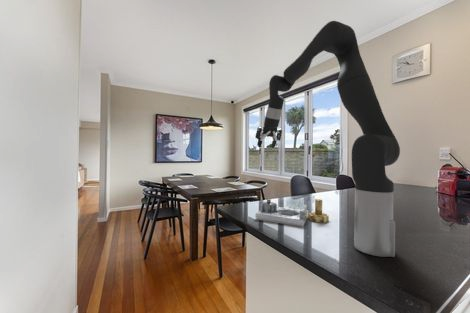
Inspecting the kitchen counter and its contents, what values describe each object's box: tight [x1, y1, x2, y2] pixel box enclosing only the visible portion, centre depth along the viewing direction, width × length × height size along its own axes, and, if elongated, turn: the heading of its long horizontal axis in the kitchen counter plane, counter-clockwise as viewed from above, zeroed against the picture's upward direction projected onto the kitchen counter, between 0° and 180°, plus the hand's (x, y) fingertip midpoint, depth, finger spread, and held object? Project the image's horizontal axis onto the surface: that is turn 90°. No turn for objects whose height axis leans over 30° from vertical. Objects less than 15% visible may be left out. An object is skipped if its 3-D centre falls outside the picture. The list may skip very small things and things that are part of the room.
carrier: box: [255, 198, 309, 228], centre depth 90 cm, size 19×16×7 cm
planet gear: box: [307, 198, 330, 223], centre depth 88 cm, size 8×8×8 cm
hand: (266, 147), depth 112 cm, fingers open, 8 cm apart
